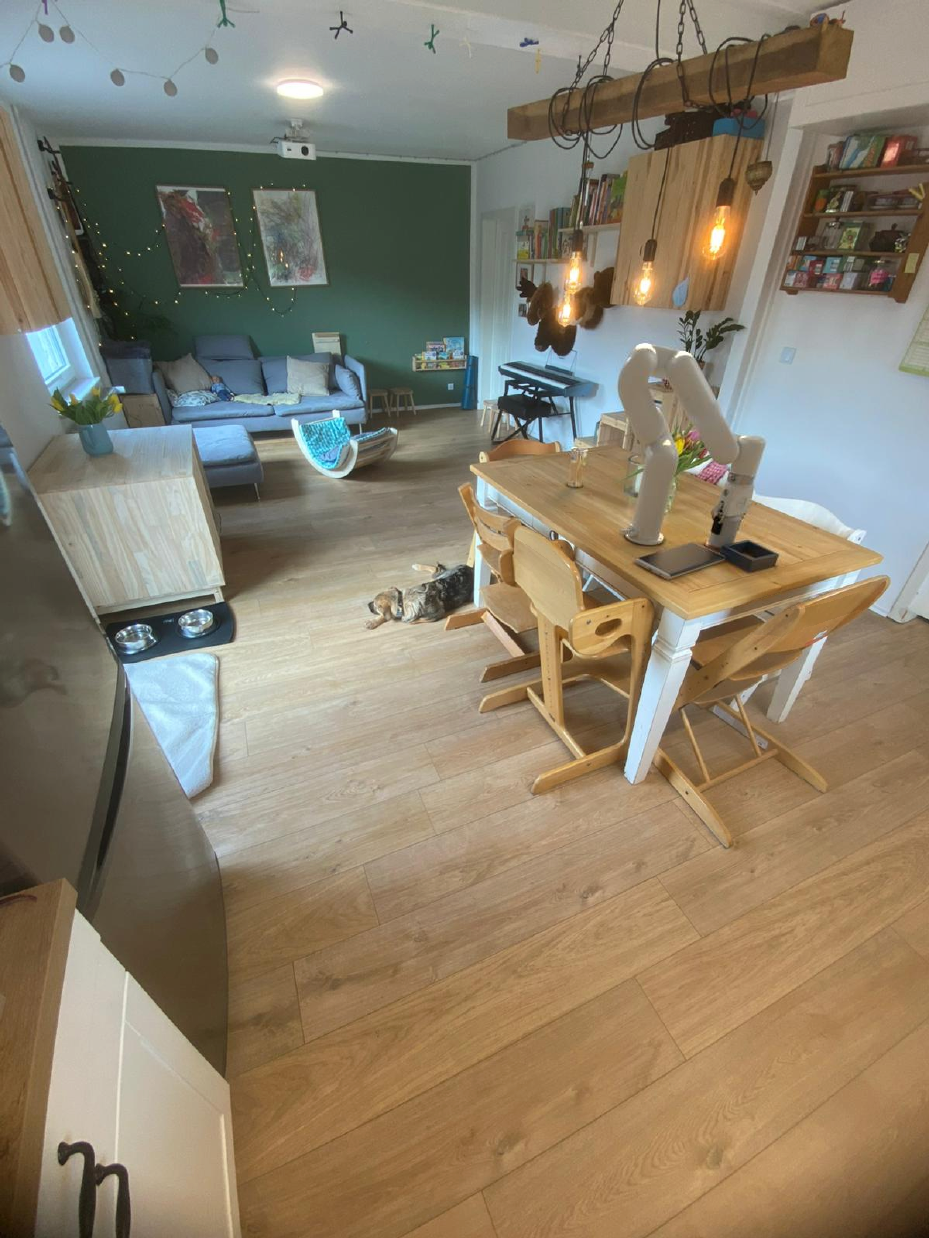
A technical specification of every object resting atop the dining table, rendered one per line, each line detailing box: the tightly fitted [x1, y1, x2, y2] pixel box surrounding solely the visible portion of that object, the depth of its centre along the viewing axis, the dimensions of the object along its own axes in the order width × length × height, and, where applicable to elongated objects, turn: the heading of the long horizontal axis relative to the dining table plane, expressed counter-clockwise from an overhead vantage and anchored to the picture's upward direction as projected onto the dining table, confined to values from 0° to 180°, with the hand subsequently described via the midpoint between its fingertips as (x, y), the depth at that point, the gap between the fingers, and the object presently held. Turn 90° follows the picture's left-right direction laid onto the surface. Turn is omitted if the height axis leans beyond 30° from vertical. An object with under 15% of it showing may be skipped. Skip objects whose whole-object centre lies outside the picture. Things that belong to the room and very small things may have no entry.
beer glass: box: [567, 446, 589, 488], centre depth 220 cm, size 7×7×15 cm
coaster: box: [704, 540, 721, 553], centre depth 175 cm, size 9×9×1 cm
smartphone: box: [634, 541, 726, 580], centre depth 165 cm, size 13×27×2 cm, turn 121°
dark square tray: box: [719, 539, 780, 573], centre depth 166 cm, size 12×12×4 cm
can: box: [708, 512, 743, 549], centre depth 172 cm, size 8×8×12 cm
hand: (724, 531), depth 172 cm, fingers closed on can, 7 cm apart
